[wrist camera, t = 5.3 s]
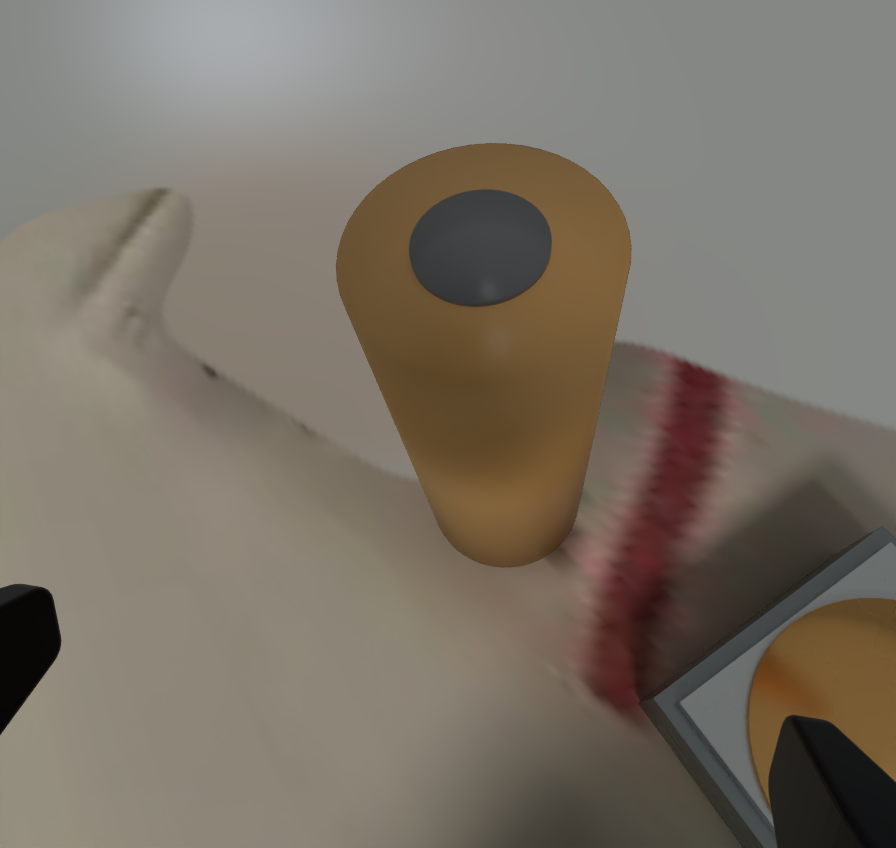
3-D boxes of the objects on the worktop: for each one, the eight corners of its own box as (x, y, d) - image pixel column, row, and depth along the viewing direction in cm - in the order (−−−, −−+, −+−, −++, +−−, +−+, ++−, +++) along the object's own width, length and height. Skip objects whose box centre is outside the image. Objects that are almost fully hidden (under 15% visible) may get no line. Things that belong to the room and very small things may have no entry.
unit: (868, 1020, 15) (945, 1085, 13) (638, 702, 19) (657, 696, 16) (1098, 812, 17) (1216, 828, 14) (841, 550, 20) (893, 519, 17)
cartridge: (486, 597, 21) (433, 430, 9) (406, 478, 23) (284, 225, 12) (609, 512, 21) (699, 262, 10) (521, 404, 24) (514, 98, 12)
